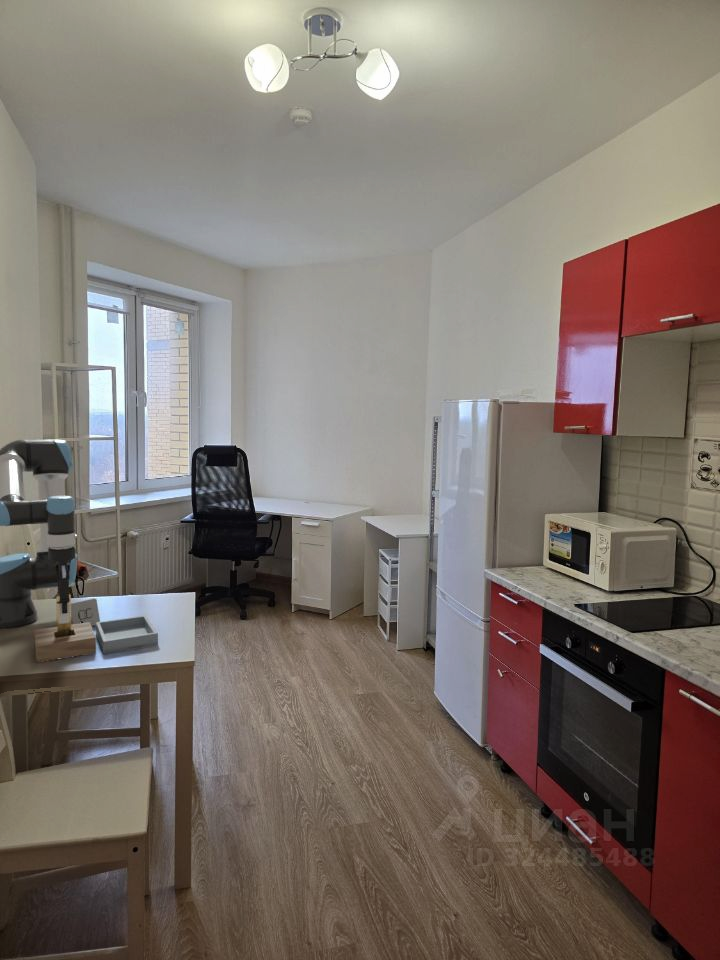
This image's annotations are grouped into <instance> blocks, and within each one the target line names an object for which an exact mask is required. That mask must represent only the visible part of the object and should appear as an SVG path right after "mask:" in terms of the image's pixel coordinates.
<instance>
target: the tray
mask: <svg viewBox="0 0 720 960" xmlns="http://www.w3.org/2000/svg"><path fill="white" fill-rule="evenodd" d="M95 636H96V637H97V640H98V642H99V645H100V647H101V651H102V650H103V651H102V653H103V655H107V654H106V653H109V654H114V652H115V653H119V652H121V653H122V652H127V651H132V650H138V649H144V648H150V647H151V648H152V647H157V646H159V632H158V631H157V630H156V628H155V627H154V625H153V624H152V623H151V621H150V619H149V618H148V616H147V615H146V614H144V615H140V616H139V615H138V616H133V617H130V616H129V617H125V618H117V619H110V620H104V621H100V622H96V625H95Z"/></svg>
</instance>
